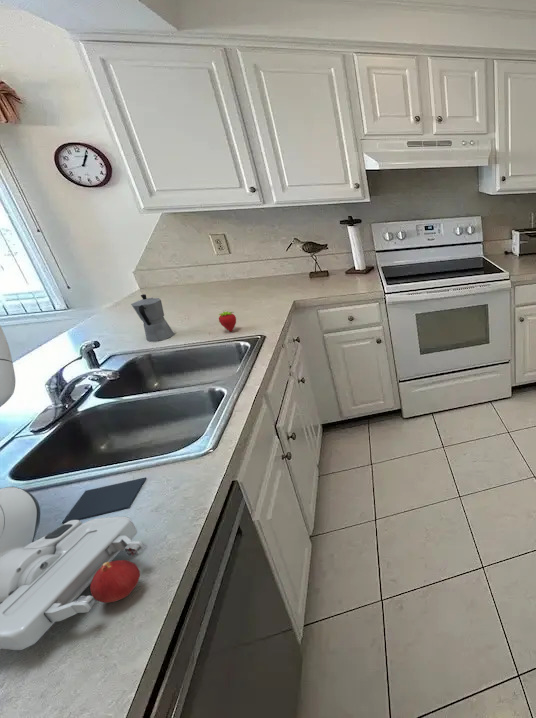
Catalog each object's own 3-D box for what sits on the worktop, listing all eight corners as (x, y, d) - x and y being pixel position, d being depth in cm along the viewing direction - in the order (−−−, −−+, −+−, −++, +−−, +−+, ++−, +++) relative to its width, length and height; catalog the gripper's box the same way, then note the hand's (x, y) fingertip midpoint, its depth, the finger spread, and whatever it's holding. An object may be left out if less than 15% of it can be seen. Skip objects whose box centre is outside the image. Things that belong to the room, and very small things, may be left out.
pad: (62, 523, 81) (61, 522, 81) (86, 491, 89) (85, 490, 89) (129, 508, 85) (128, 506, 84) (146, 478, 92) (146, 477, 92)
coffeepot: (150, 333, 169) (132, 291, 161) (178, 329, 172) (161, 288, 165) (140, 348, 156) (120, 303, 148) (170, 342, 160) (152, 299, 152)
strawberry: (237, 326, 173) (230, 304, 169) (241, 332, 168) (234, 309, 163) (221, 330, 169) (213, 307, 165) (224, 336, 164) (216, 312, 160)
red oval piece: (93, 607, 66) (69, 574, 63) (131, 575, 71) (111, 543, 67) (118, 618, 64) (95, 585, 61) (155, 584, 69) (136, 551, 66)
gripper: (-61, 634, 55) (42, 631, 55) (79, 512, 73) (156, 509, 73) (-33, 661, 58) (65, 658, 58) (95, 536, 76) (169, 534, 76)
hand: (117, 574), depth 66 cm, fingers open, 8 cm apart
